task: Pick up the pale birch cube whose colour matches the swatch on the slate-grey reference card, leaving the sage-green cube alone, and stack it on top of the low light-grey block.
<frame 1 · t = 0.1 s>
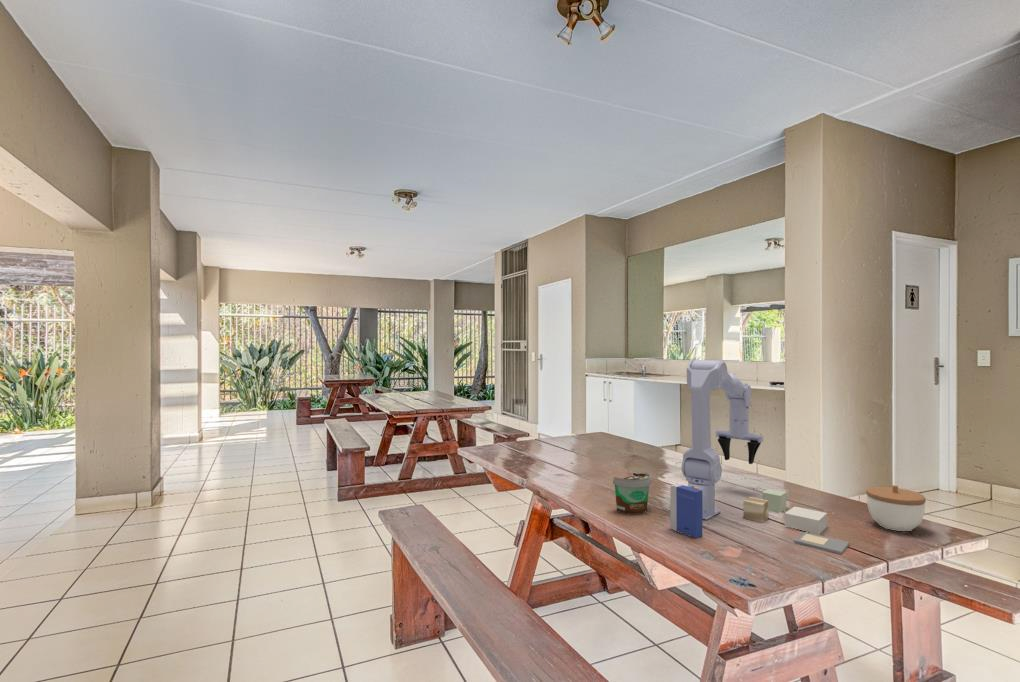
hand: (738, 461, 170), 10 cm above the table, tool pointing down, fingers open, 7 cm apart
lidded bowl: (895, 528, 138), on the table
food container: (636, 512, 152), on the table
base block: (806, 528, 139), on the table
reference card: (821, 543, 127), on the table
sage cube: (774, 509, 153), on the table
birch cube: (756, 518, 146), on the table
walkman: (686, 533, 135), on the table
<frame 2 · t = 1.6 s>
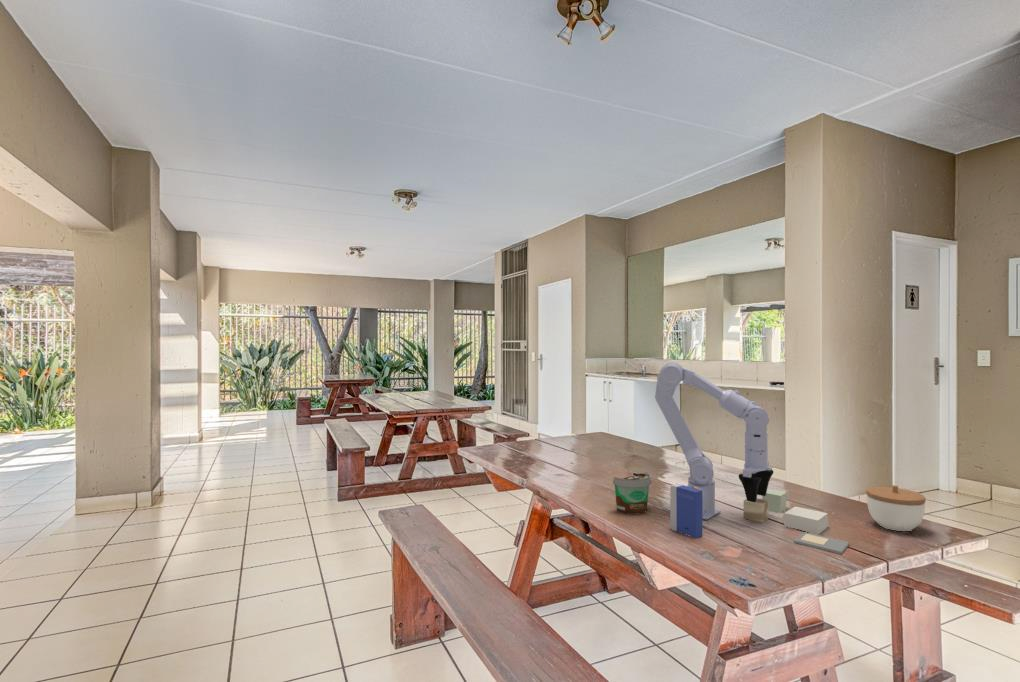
hand: (756, 498, 146), 6 cm above the table, tool pointing down, fingers open, 7 cm apart
nothing on the table moved.
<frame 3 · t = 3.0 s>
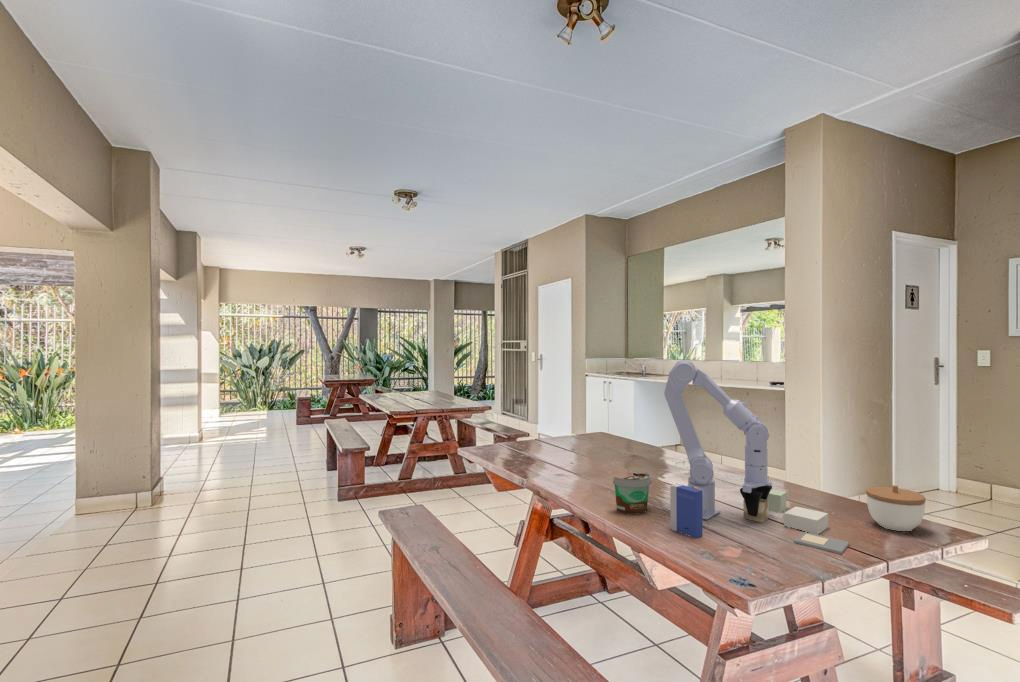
hand: (756, 513, 146), 1 cm above the table, tool pointing down, fingers closed on birch cube, 5 cm apart
birch cube: (756, 518, 146), on the table, touching gripper
everything else where it was.
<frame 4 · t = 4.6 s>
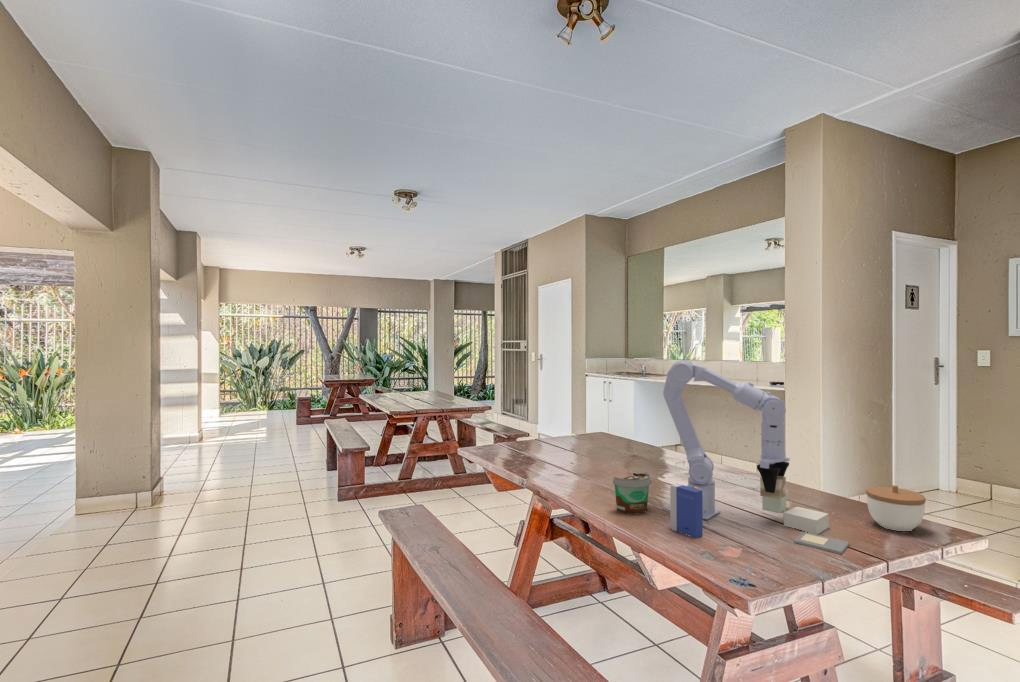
hand: (773, 489, 143), 9 cm above the table, tool pointing down, fingers closed on birch cube, 5 cm apart
birch cube: (773, 495, 143), point 7 cm above the table, touching gripper
everything else where it was.
when the fingers open (7 cm above the table, at t = 6.3 s): birch cube drops 2 cm, point 4 cm above the table.
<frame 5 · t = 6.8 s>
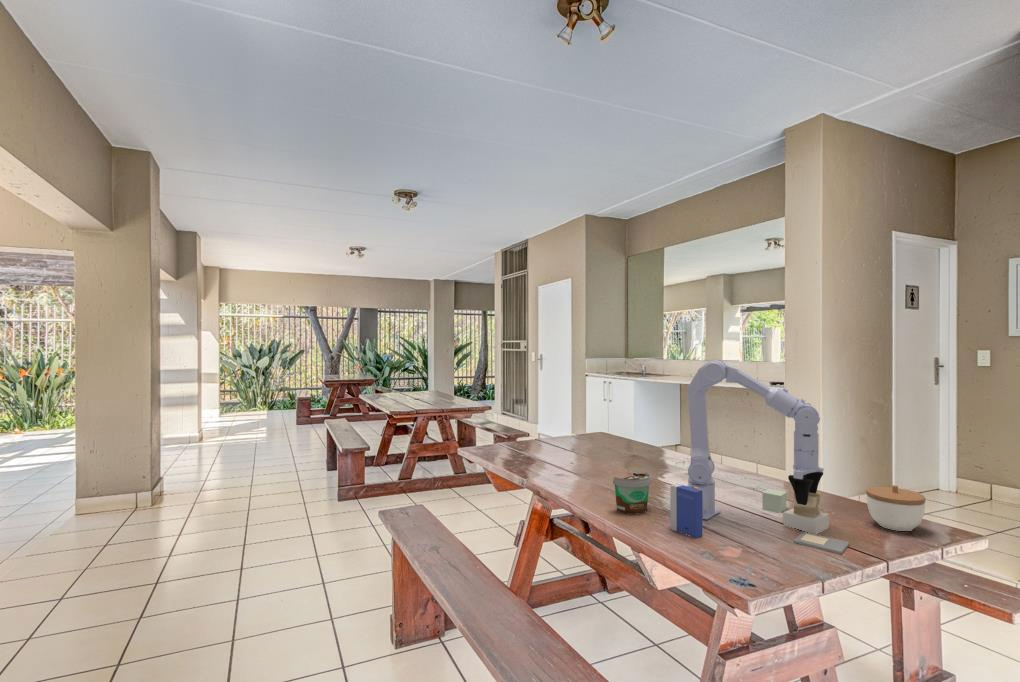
hand: (806, 500, 139), 7 cm above the table, tool pointing down, fingers open, 7 cm apart
birch cube: (806, 513, 139), point 4 cm above the table
everything else where it was.
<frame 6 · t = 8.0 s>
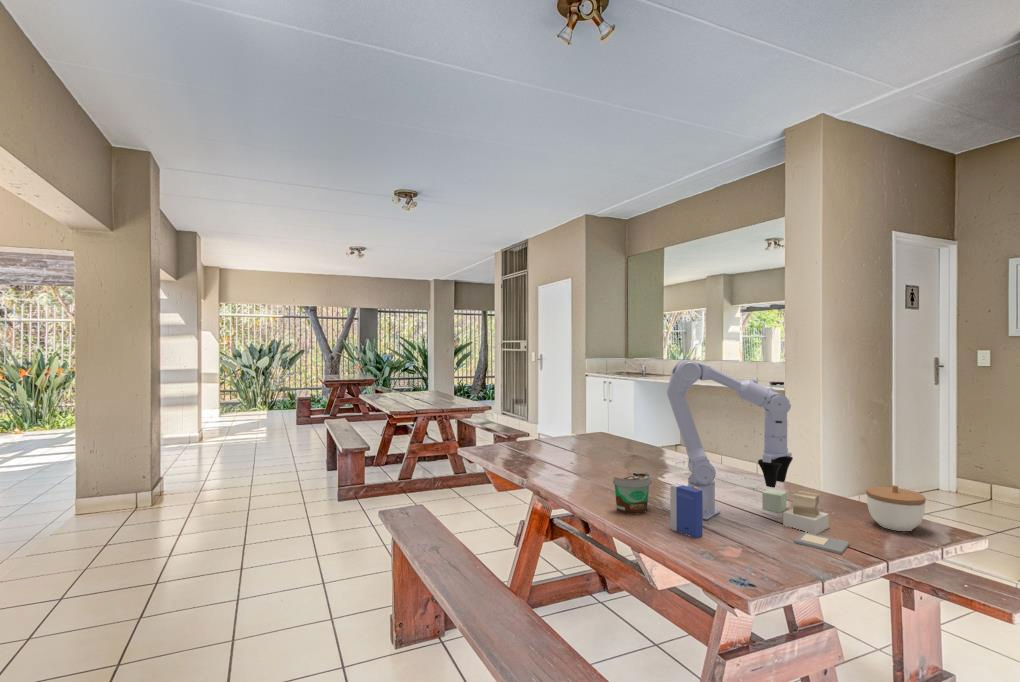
hand: (775, 484, 146), 9 cm above the table, tool pointing down, fingers open, 7 cm apart
nothing on the table moved.
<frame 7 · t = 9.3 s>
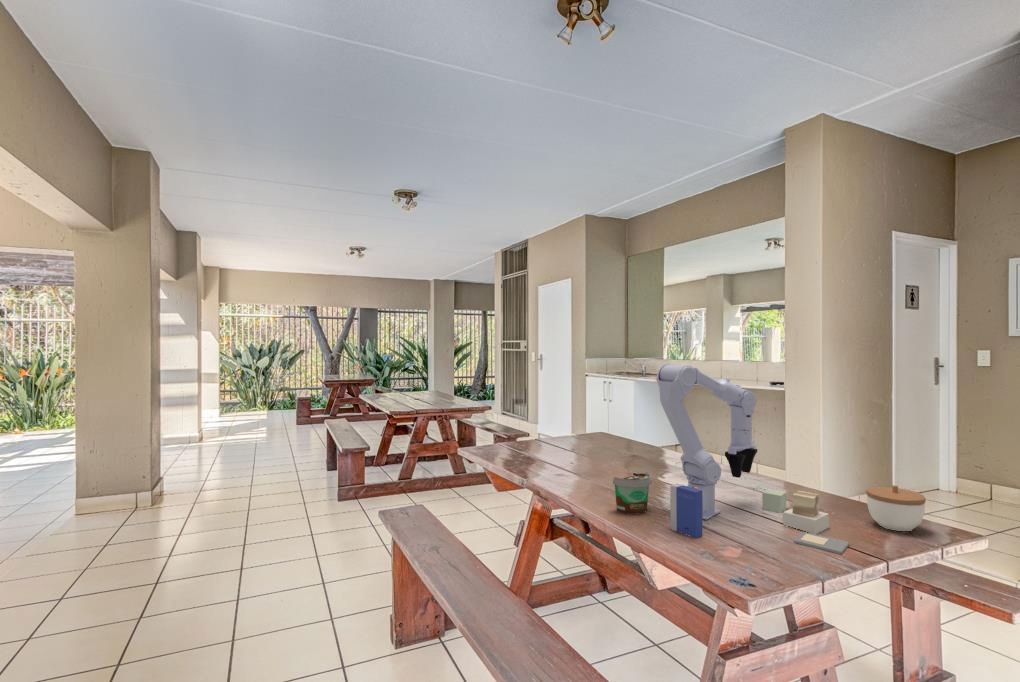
hand: (741, 474, 156), 9 cm above the table, tool pointing down, fingers open, 7 cm apart
base block: (805, 527, 139), on the table, touching birch cube
birch cube: (805, 513, 139), point 4 cm above the table, touching base block
everything else where it was.
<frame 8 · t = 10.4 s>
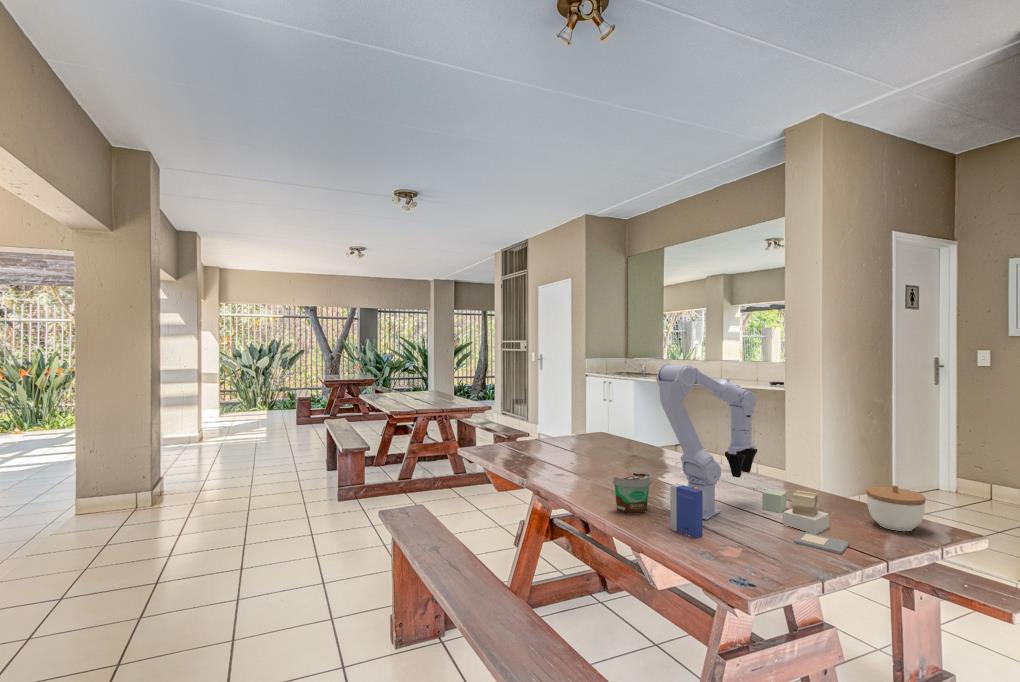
hand: (741, 474, 156), 9 cm above the table, tool pointing down, fingers open, 7 cm apart
base block: (805, 527, 139), on the table
birch cube: (805, 512, 139), point 4 cm above the table
everything else where it was.
at the end: birch cube 0.2 cm off-centre on the base block, point 4.0 cm above the base block's base; birch cube tilted 0°; the gripper is holding nothing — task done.
